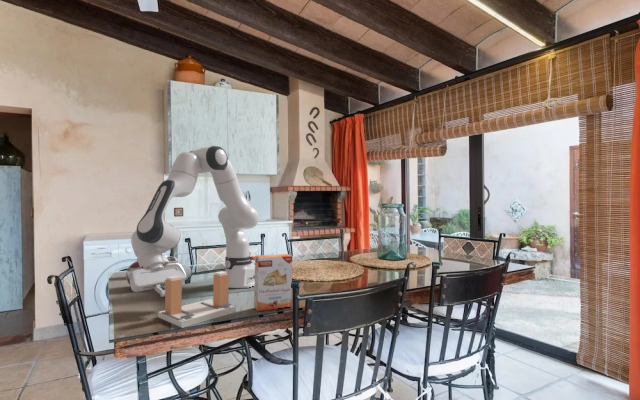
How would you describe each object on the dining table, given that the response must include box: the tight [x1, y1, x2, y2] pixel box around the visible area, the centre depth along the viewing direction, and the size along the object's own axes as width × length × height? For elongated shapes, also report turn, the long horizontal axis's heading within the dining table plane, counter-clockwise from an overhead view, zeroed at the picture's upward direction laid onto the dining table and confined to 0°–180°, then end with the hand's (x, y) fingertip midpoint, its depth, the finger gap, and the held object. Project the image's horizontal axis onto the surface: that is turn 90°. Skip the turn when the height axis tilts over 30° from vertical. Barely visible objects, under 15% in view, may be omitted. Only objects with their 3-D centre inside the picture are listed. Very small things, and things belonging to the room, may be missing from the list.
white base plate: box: [157, 298, 236, 329], centre depth 136 cm, size 22×16×3 cm
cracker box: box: [253, 253, 293, 312], centre depth 145 cm, size 14×6×21 cm, turn 114°
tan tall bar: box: [212, 270, 230, 308], centre depth 140 cm, size 4×4×13 cm
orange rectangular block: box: [164, 276, 183, 315], centre depth 131 cm, size 4×4×13 cm
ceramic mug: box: [180, 264, 192, 280], centre depth 191 cm, size 11×8×8 cm
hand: (166, 295), depth 134 cm, fingers closed
